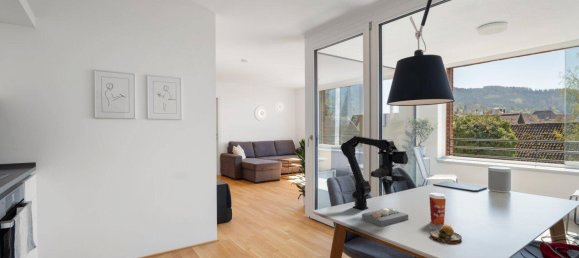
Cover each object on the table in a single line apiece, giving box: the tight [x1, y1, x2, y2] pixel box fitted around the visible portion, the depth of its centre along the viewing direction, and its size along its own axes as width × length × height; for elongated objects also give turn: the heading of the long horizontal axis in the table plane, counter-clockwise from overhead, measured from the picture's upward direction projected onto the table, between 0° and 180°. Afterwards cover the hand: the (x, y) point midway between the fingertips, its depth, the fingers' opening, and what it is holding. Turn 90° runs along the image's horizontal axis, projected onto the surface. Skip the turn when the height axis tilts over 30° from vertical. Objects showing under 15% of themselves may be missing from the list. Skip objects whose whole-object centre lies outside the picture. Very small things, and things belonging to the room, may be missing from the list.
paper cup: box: [428, 192, 447, 226], centre depth 138 cm, size 8×8×14 cm
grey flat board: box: [361, 208, 409, 227], centre depth 144 cm, size 13×19×2 cm
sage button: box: [389, 208, 398, 214], centre depth 147 cm, size 4×4×4 cm
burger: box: [429, 224, 463, 245], centre depth 119 cm, size 12×12×8 cm
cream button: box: [380, 207, 390, 216], centre depth 144 cm, size 4×4×4 cm
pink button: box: [372, 211, 381, 218], centre depth 141 cm, size 4×4×4 cm
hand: (387, 191), depth 152 cm, fingers closed
